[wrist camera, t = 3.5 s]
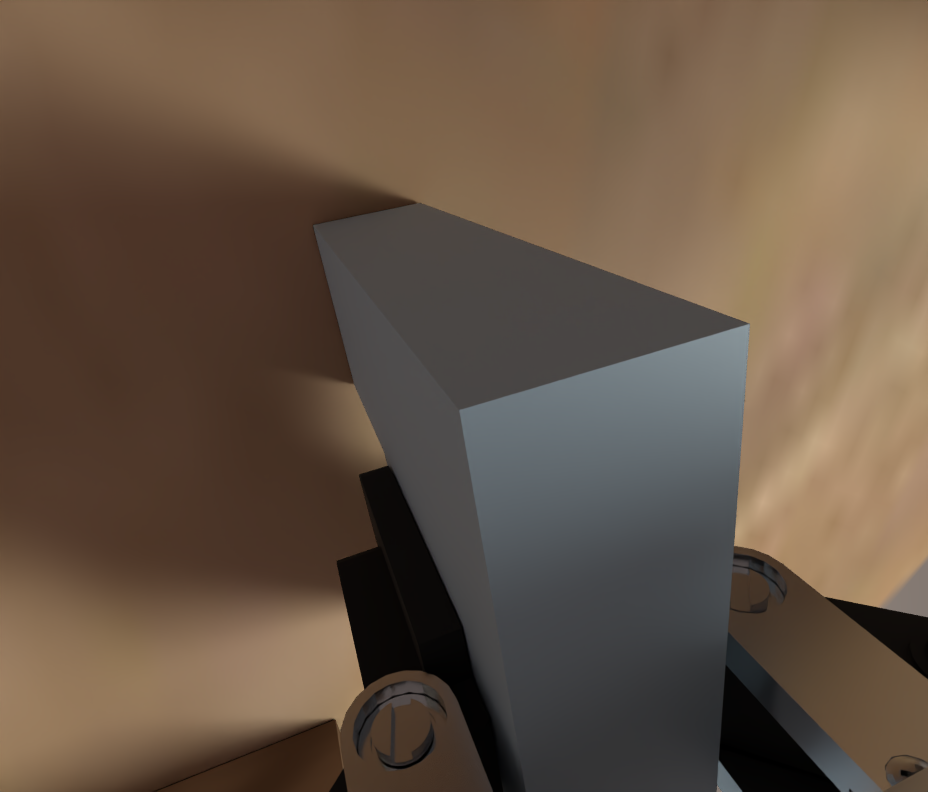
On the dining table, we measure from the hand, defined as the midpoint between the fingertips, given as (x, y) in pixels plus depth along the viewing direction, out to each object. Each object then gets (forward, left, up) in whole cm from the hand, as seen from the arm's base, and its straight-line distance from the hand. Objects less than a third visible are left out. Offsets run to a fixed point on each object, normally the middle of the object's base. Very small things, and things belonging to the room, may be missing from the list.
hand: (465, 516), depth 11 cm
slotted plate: (0, 0, -4) cm, 4 cm away
